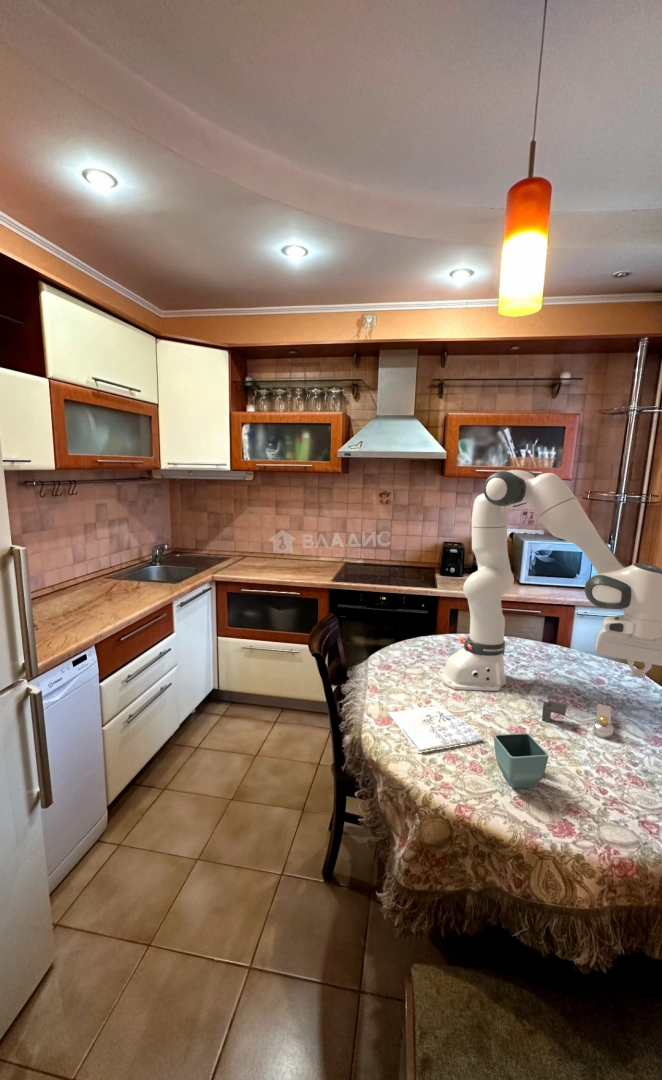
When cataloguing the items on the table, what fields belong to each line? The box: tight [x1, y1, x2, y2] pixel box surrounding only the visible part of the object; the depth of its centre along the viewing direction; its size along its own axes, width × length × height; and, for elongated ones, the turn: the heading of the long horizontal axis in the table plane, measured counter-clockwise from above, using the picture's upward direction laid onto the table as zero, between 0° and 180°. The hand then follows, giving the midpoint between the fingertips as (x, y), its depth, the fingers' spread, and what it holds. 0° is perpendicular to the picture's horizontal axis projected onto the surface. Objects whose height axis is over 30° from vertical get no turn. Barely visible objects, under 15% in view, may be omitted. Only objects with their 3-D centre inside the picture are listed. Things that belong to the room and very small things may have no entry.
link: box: [592, 703, 614, 740], centre depth 120 cm, size 14×4×3 cm, turn 148°
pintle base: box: [541, 700, 609, 726], centre depth 120 cm, size 18×19×6 cm
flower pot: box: [493, 732, 550, 789], centre depth 99 cm, size 9×9×9 cm
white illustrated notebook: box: [387, 704, 484, 751], centre depth 121 cm, size 19×20×2 cm
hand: (637, 676), depth 115 cm, fingers closed
